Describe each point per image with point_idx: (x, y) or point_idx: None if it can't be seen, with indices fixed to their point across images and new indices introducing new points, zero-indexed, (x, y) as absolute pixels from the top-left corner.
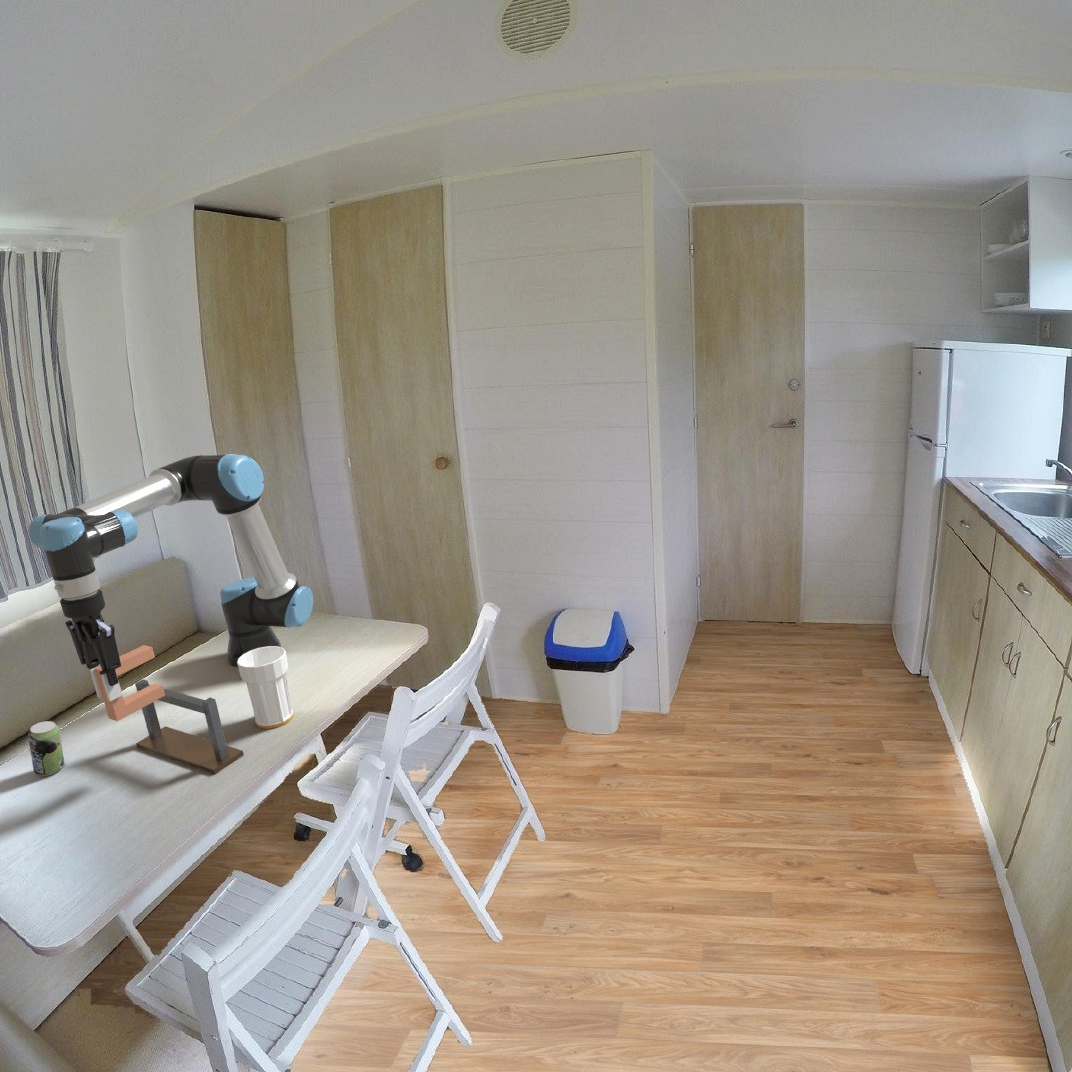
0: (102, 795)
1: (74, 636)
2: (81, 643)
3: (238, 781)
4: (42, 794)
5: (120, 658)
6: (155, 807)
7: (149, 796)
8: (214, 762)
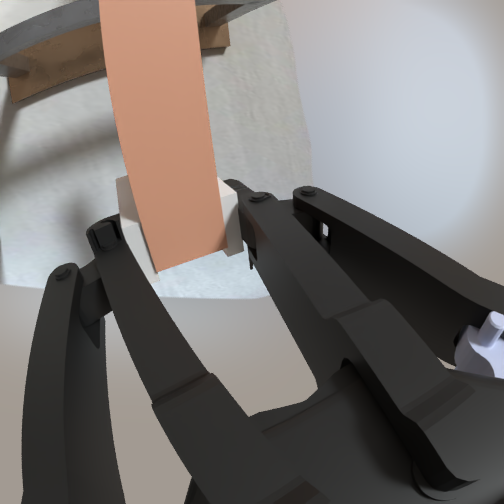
0: (115, 185)
1: (119, 480)
2: (95, 403)
3: (274, 43)
4: (40, 252)
5: (155, 131)
6: (221, 140)
7: None
8: (211, 33)
